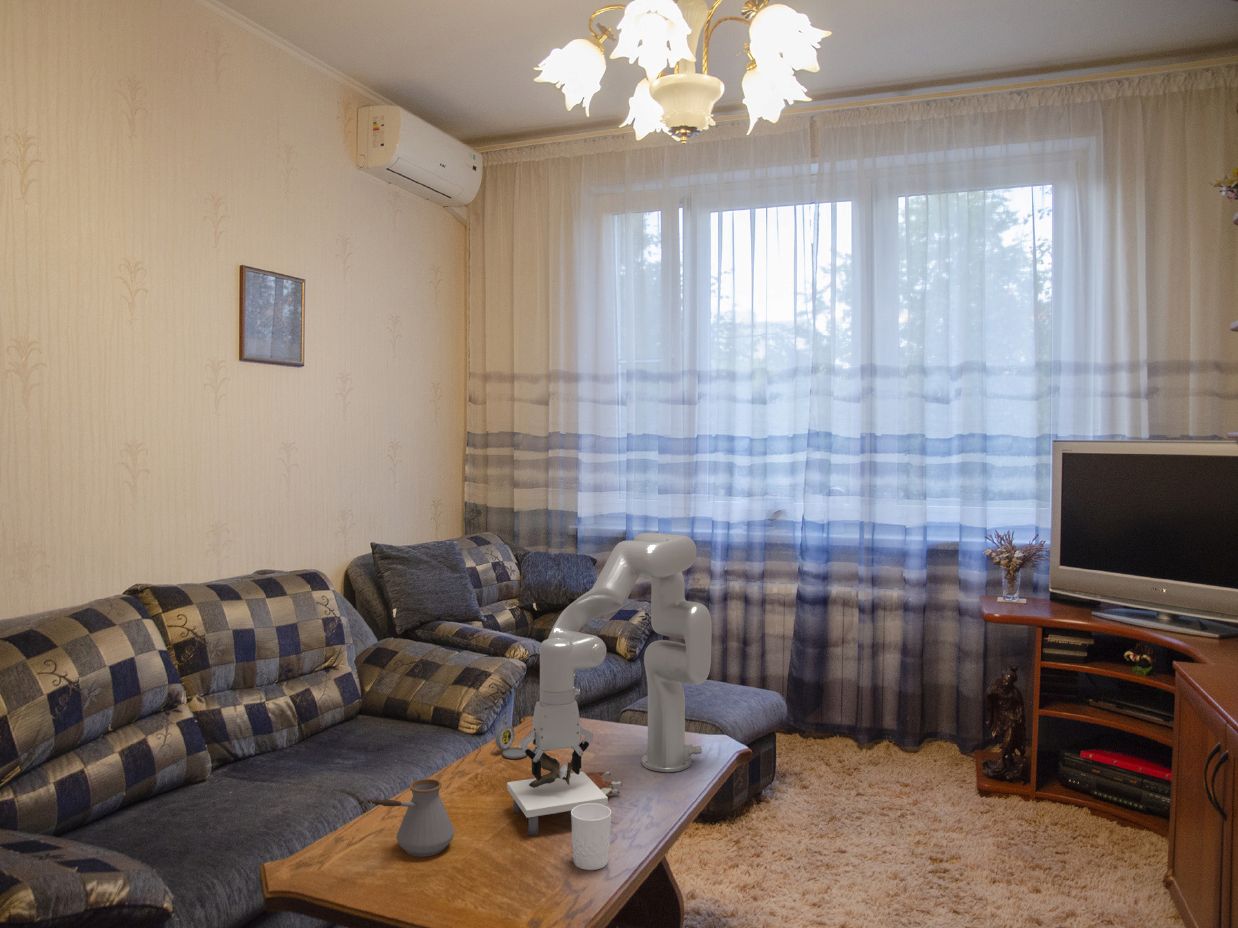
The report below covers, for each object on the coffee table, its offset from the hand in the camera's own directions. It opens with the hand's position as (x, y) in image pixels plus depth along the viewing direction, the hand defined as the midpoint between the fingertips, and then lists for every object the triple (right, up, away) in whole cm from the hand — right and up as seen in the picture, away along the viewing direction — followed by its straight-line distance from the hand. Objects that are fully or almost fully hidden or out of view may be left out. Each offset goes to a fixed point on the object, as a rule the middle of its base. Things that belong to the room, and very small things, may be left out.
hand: (556, 774), depth 188 cm
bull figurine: (+13, -7, +13) cm, 20 cm away
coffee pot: (-28, -10, -19) cm, 35 cm away
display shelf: (0, -9, 0) cm, 9 cm away
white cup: (+8, -10, -20) cm, 24 cm away
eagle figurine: (-1, -2, 0) cm, 2 cm away
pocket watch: (-14, -9, +38) cm, 42 cm away
